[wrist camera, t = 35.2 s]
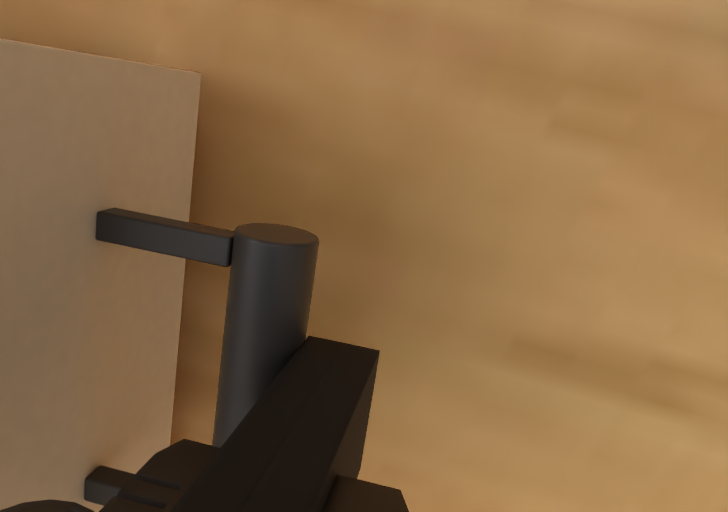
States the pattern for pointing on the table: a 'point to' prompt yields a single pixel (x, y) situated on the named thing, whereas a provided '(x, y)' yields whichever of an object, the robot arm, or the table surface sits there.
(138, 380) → the drawer
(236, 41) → the table surface
